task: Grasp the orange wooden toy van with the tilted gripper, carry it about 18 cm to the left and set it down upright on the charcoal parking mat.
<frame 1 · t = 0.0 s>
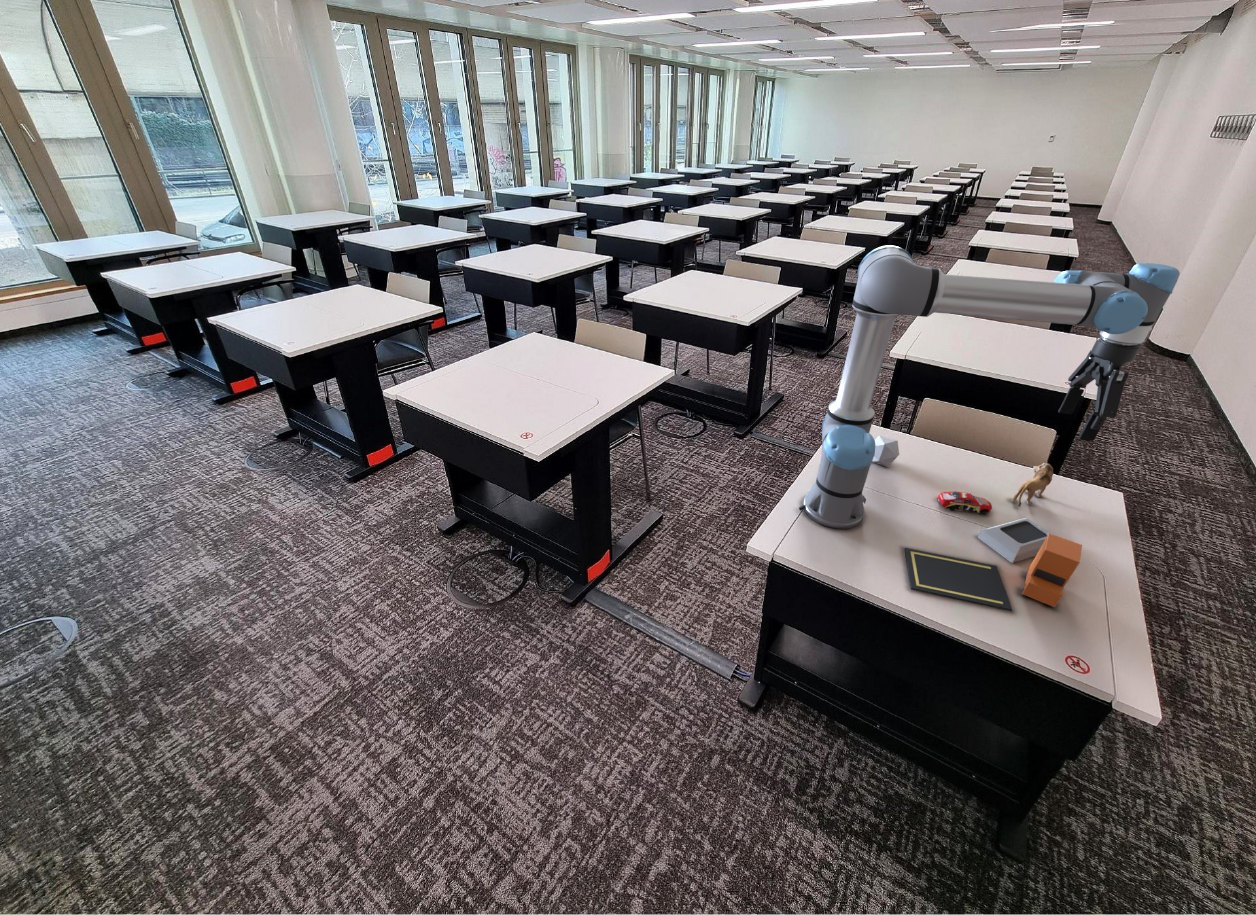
hand: (1074, 425, 126), 28 cm above the table, tool pointing down, fingers open, 13 cm apart
grey low boxy piece: (1016, 543, 133), on the table
lion figurine: (1026, 497, 149), on the table
parking mat: (954, 577, 123), on the table
toy van: (1040, 586, 120), on the table
race car: (962, 507, 145), on the table
die: (879, 462, 164), on the table
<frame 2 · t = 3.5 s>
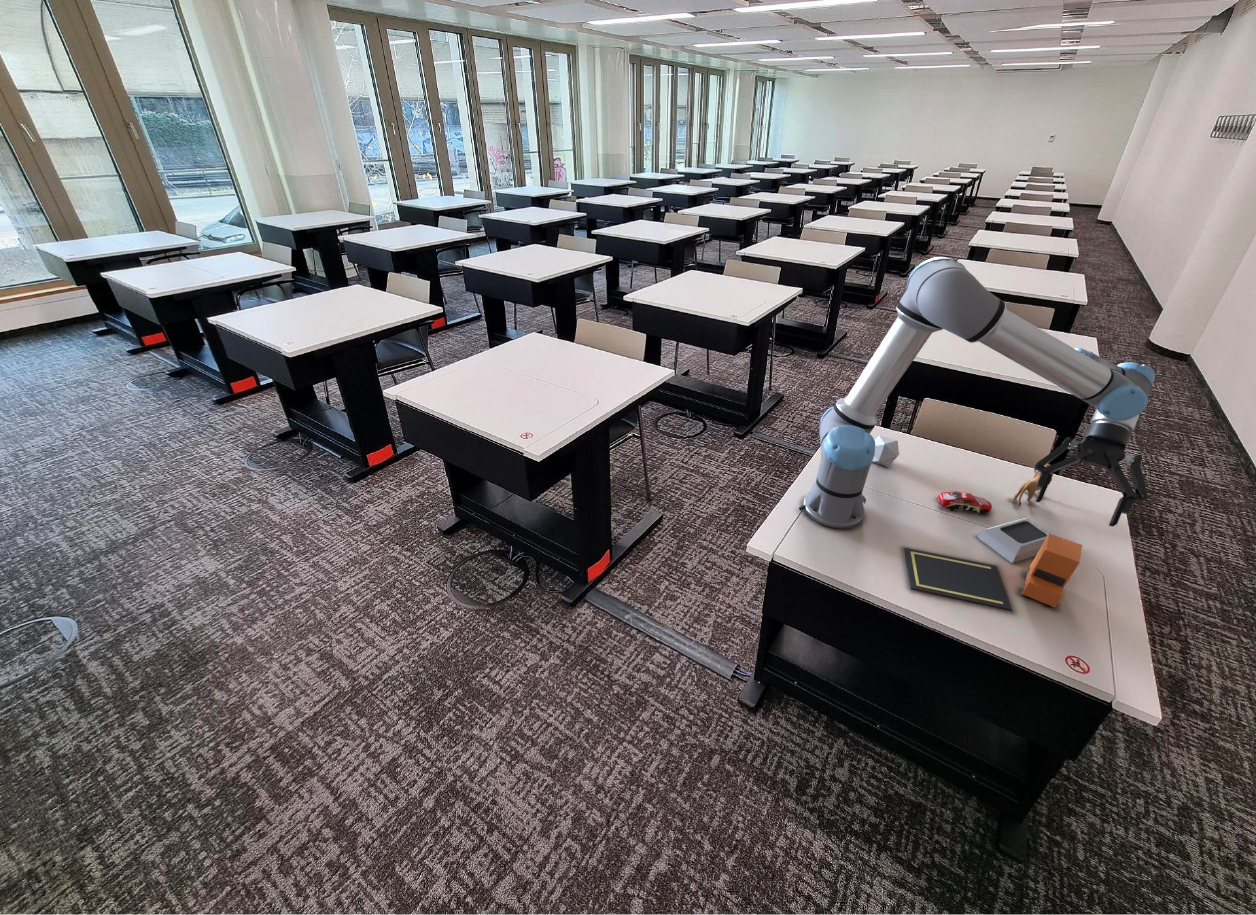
hand: (1074, 512, 119), 15 cm above the table, tool tilted 45°, fingers open, 13 cm apart
nothing on the table moved.
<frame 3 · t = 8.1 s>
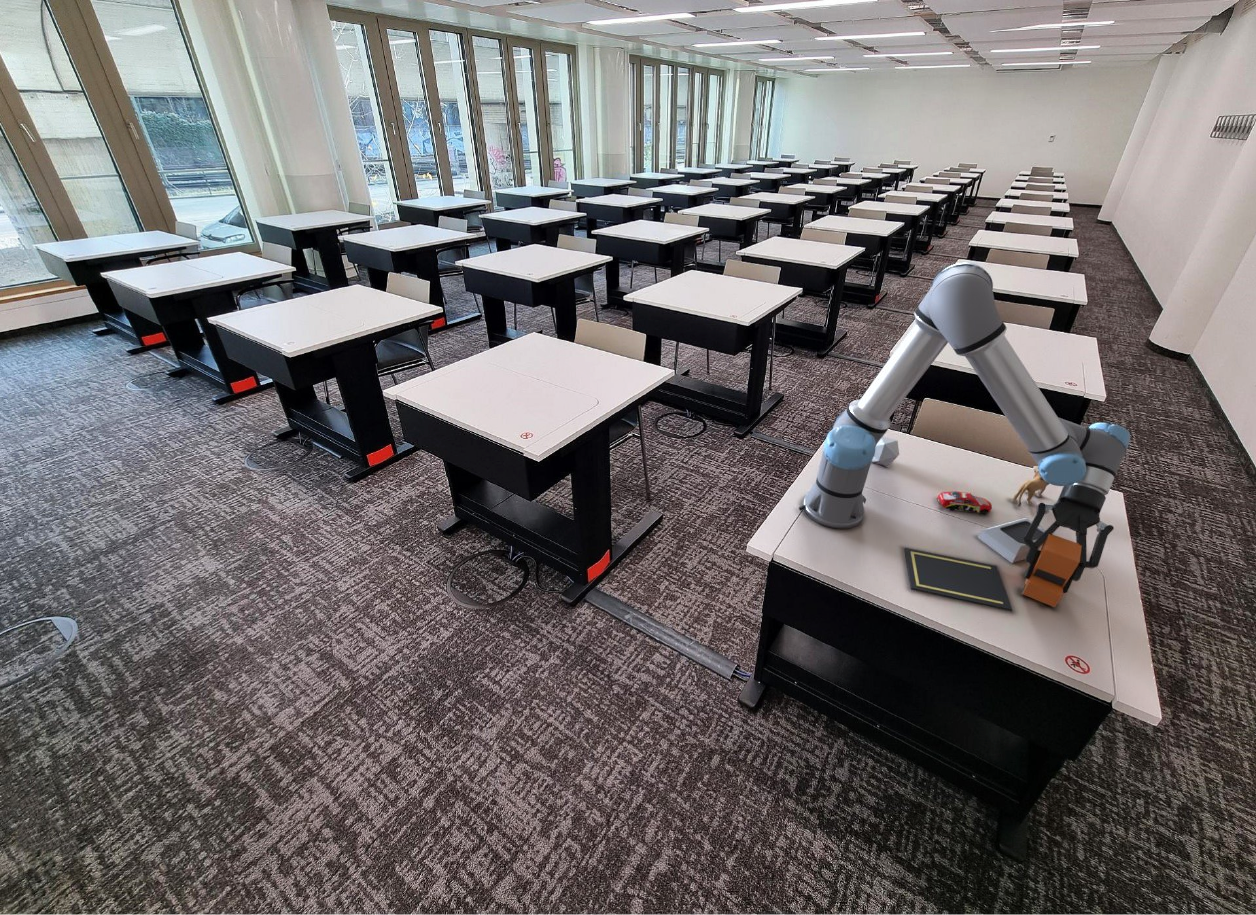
hand: (1044, 584, 116), 4 cm above the table, tool tilted 45°, fingers closed on toy van, 6 cm apart
toy van: (1040, 586, 120), on the table, touching gripper
everything else where it was.
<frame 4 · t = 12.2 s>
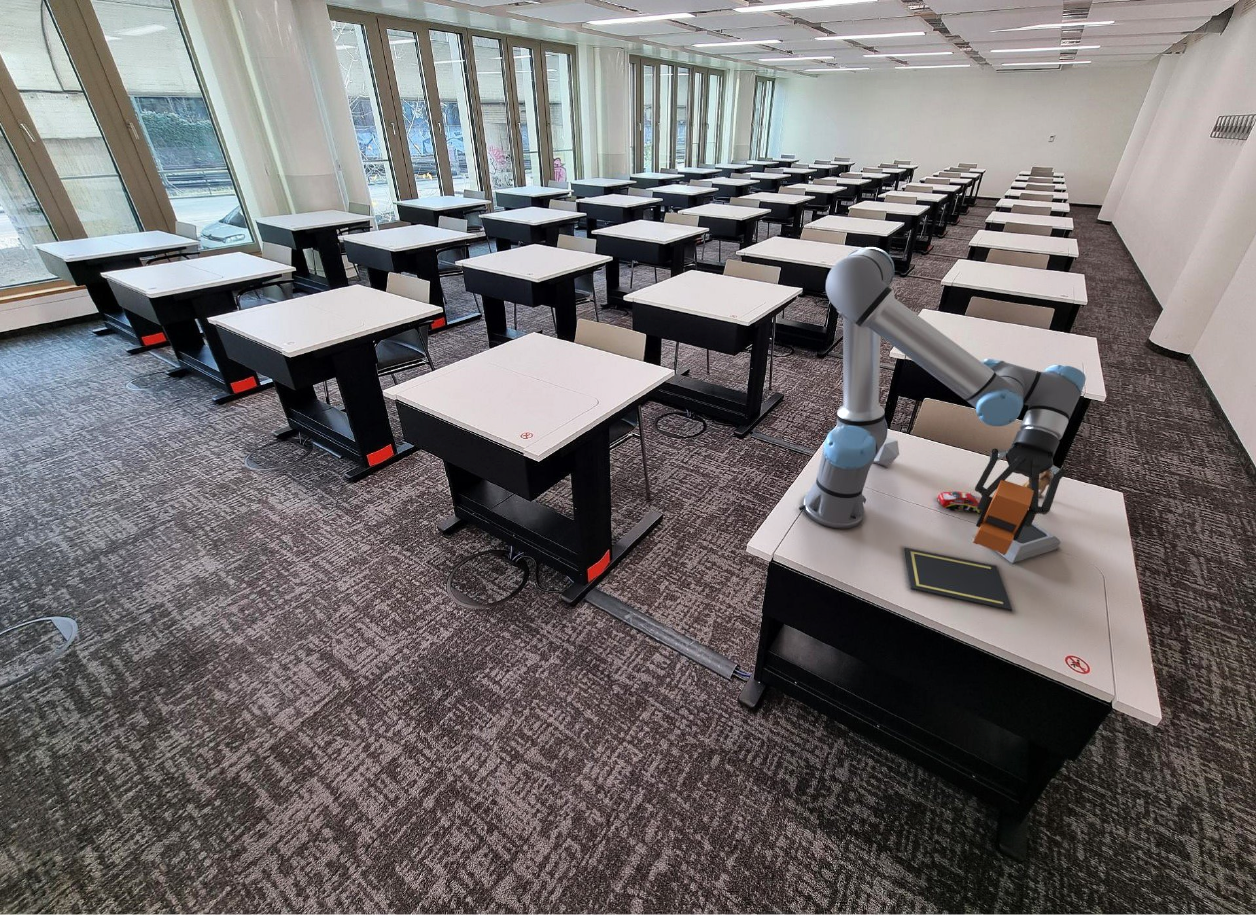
hand: (996, 532, 112), 16 cm above the table, tool tilted 45°, fingers closed on toy van, 6 cm apart
toy van: (992, 536, 116), point 13 cm above the table, touching gripper
everything else where it was.
when the fingers open (4 cm above the table, at t = 16.4 s): toy van stays where it is, resting on parking mat.
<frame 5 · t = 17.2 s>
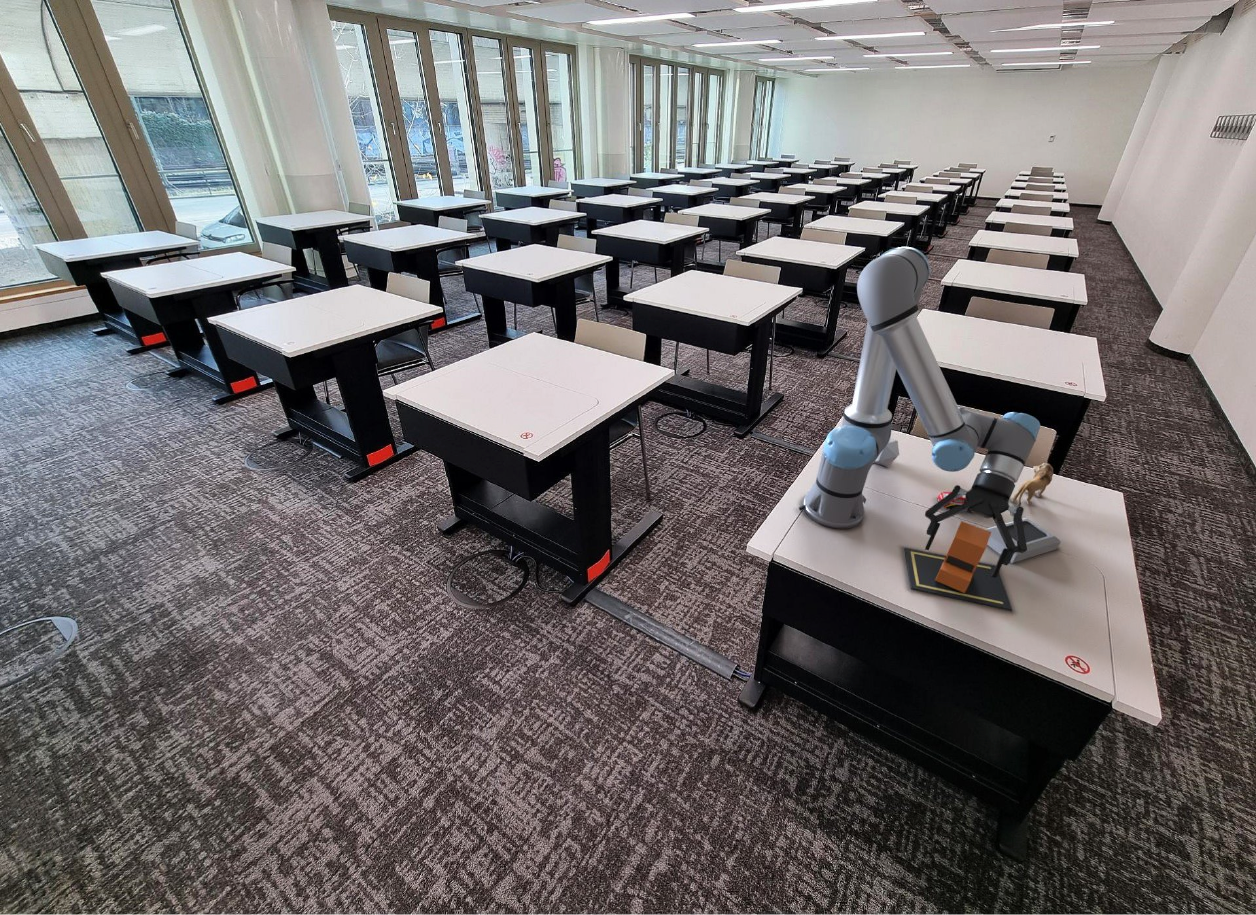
hand: (959, 562, 119), 6 cm above the table, tool tilted 45°, fingers open, 13 cm apart
toy van: (954, 573, 123), resting on parking mat
everything else where it was.
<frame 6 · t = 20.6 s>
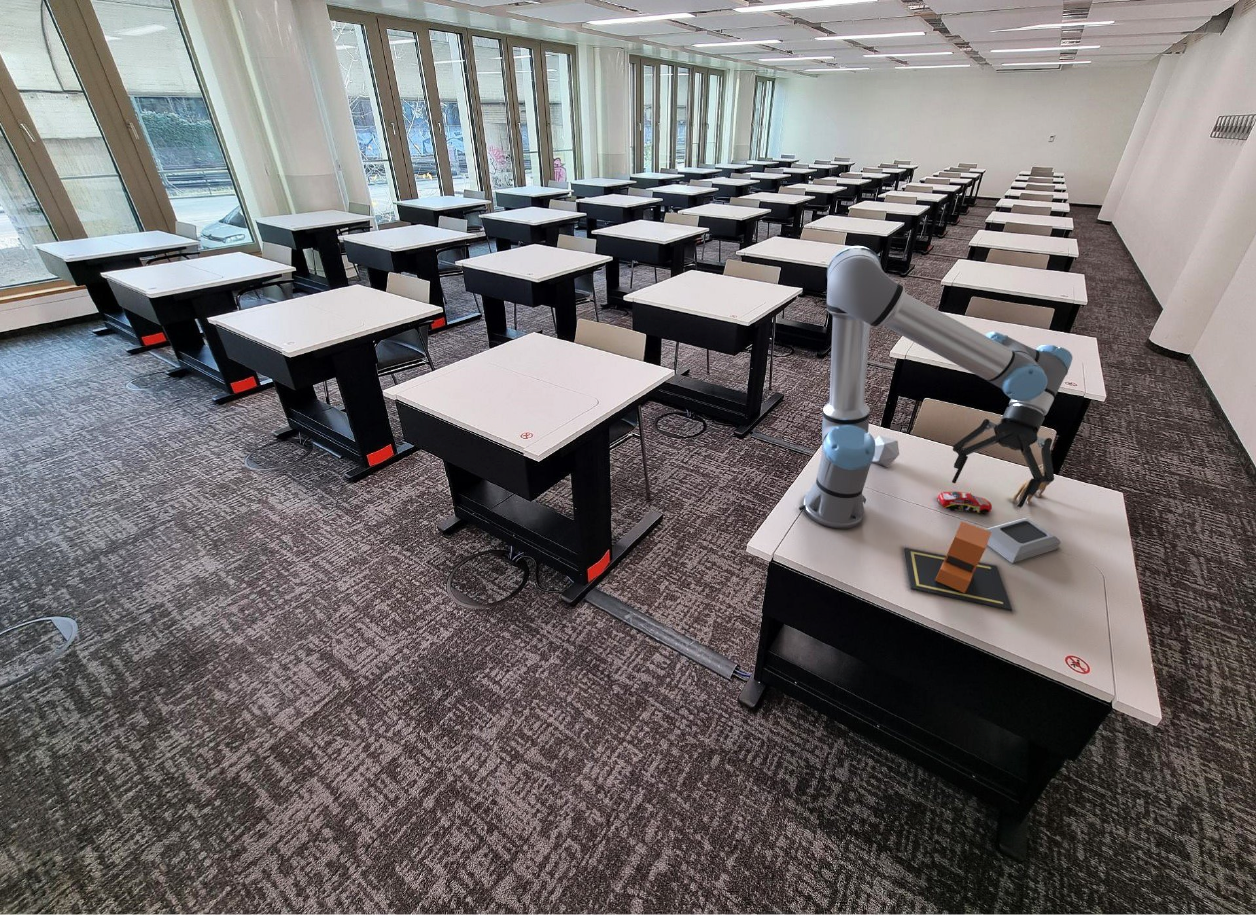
hand: (985, 493, 122), 17 cm above the table, tool tilted 40°, fingers open, 13 cm apart
nothing on the table moved.
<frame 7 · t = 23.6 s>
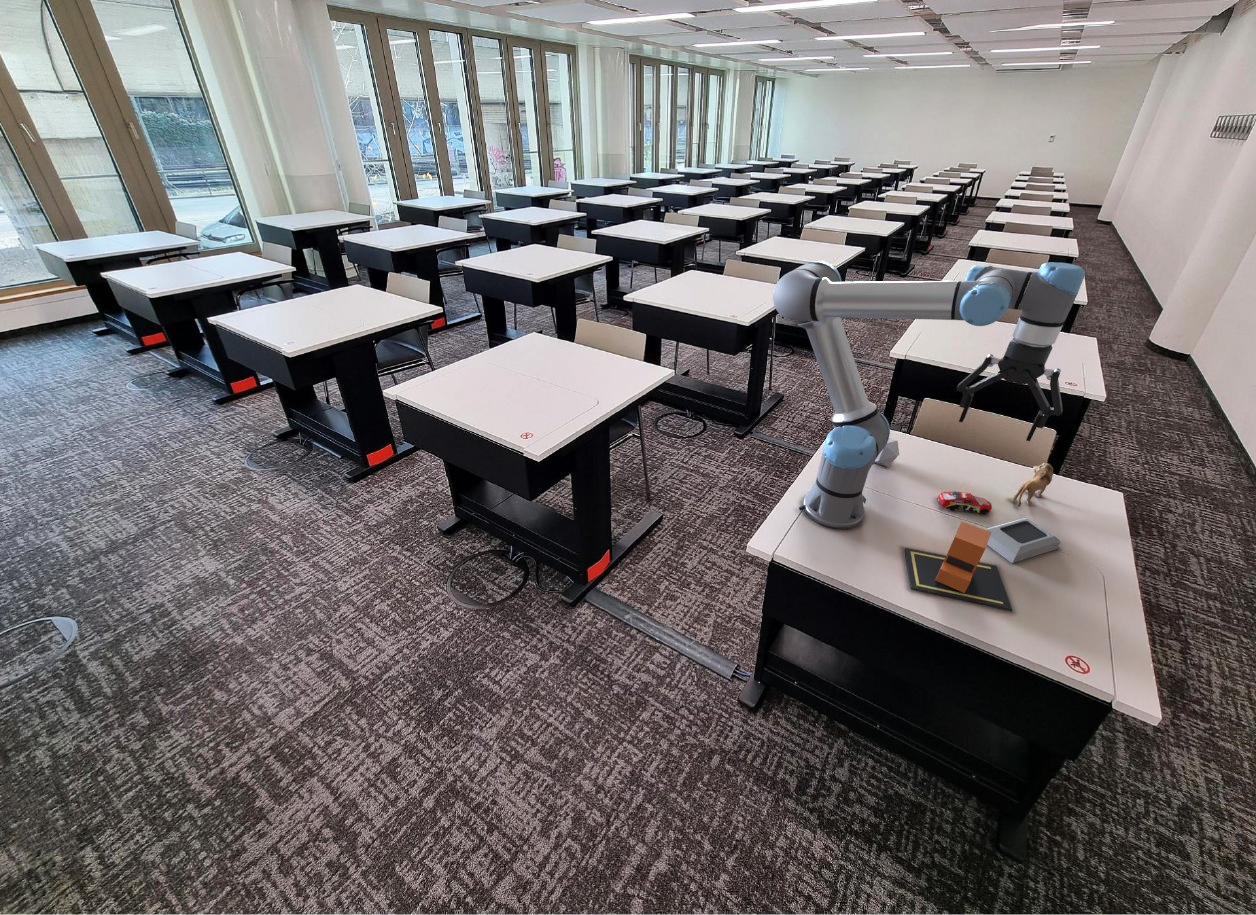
hand: (994, 429, 123), 29 cm above the table, tool pointing down, fingers open, 13 cm apart
nothing on the table moved.
at the end: toy van inside the target area on the parking mat (0.5 cm from its centre), point 0.4 cm above the parking mat's base; toy van tilted 0°; the gripper is holding nothing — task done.
